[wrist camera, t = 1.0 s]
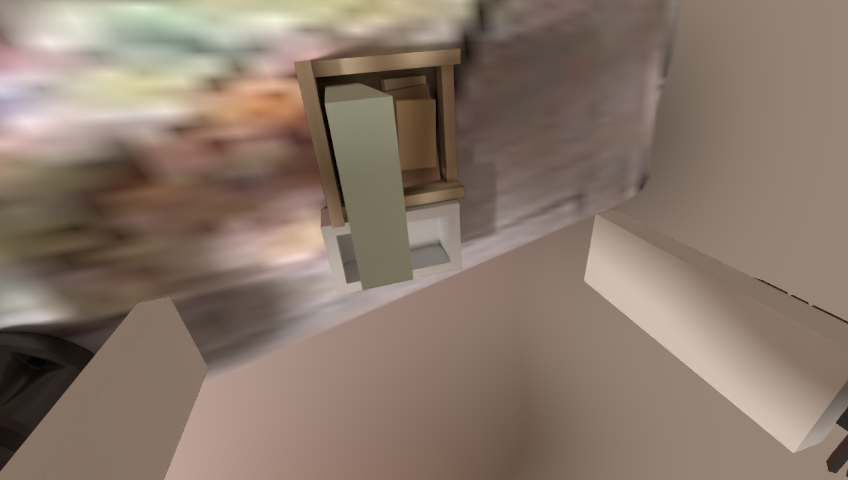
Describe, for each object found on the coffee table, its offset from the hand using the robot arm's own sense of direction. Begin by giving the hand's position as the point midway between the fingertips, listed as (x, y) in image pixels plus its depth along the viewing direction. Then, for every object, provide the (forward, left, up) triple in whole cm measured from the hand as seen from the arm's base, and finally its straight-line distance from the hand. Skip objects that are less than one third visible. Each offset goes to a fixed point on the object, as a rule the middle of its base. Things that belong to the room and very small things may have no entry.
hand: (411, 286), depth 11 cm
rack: (+3, 0, -28) cm, 28 cm away
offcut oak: (+6, 0, -24) cm, 24 cm away
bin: (+2, -11, -28) cm, 30 cm away
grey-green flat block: (0, 0, -28) cm, 28 cm away
